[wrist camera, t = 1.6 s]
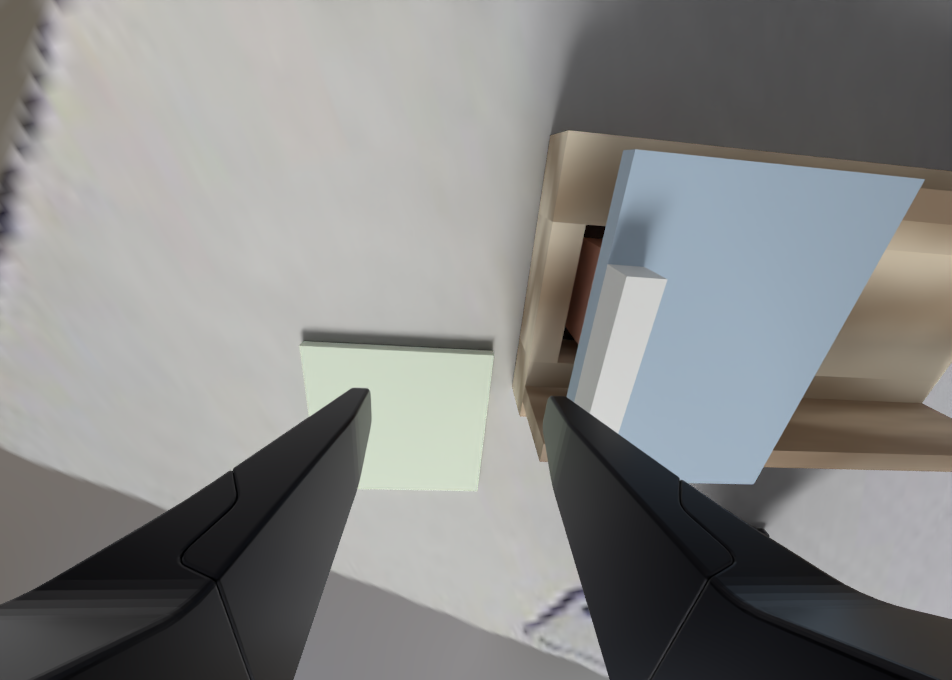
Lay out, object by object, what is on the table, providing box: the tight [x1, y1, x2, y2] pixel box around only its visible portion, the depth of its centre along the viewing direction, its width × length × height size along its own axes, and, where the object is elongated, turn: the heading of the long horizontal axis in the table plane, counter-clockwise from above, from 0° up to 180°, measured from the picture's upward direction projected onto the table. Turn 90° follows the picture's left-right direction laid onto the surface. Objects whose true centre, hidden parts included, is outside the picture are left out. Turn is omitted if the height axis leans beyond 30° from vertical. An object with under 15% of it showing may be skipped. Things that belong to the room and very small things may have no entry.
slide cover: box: [567, 149, 925, 484], centre depth 13 cm, size 12×9×2 cm
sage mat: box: [299, 341, 494, 491], centre depth 24 cm, size 11×11×1 cm
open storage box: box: [512, 130, 952, 472], centre depth 18 cm, size 14×24×8 cm, turn 85°
